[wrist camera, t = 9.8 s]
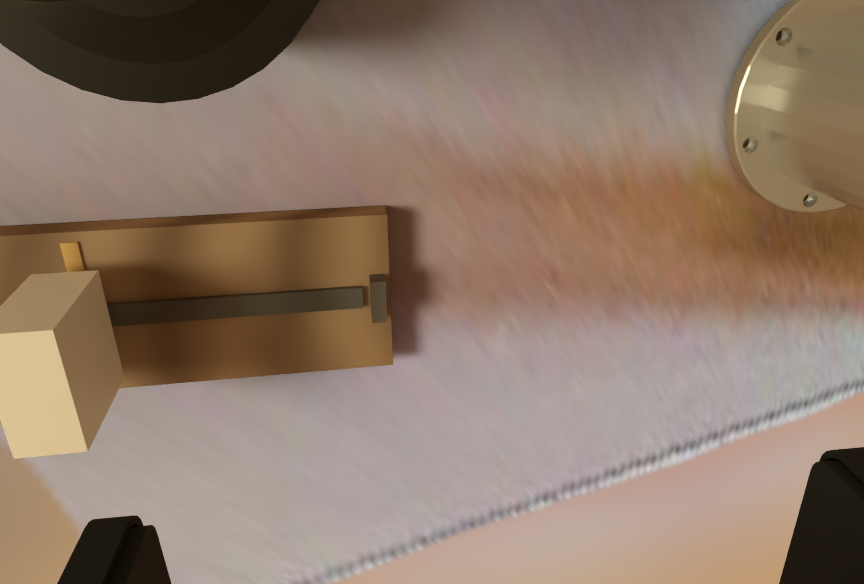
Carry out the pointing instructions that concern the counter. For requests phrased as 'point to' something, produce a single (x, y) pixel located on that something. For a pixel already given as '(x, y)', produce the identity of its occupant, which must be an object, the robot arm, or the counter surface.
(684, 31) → the counter surface
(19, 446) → the fader cap
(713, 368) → the counter surface
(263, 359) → the fader board
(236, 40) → the french press
